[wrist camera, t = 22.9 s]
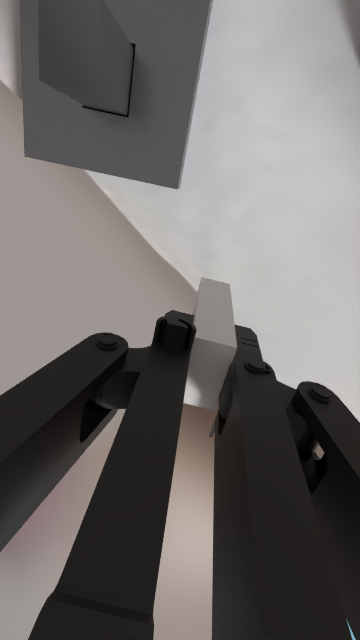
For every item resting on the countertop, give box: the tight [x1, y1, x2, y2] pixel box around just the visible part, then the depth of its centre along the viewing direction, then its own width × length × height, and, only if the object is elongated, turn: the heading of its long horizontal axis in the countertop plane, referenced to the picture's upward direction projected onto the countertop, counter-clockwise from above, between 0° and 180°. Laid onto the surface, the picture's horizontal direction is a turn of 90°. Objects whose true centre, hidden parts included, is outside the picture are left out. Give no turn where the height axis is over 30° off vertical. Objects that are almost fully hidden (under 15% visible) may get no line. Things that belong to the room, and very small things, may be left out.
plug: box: [38, 0, 134, 115], centre depth 25 cm, size 4×5×11 cm
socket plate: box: [20, 0, 213, 189], centre depth 29 cm, size 16×16×3 cm
